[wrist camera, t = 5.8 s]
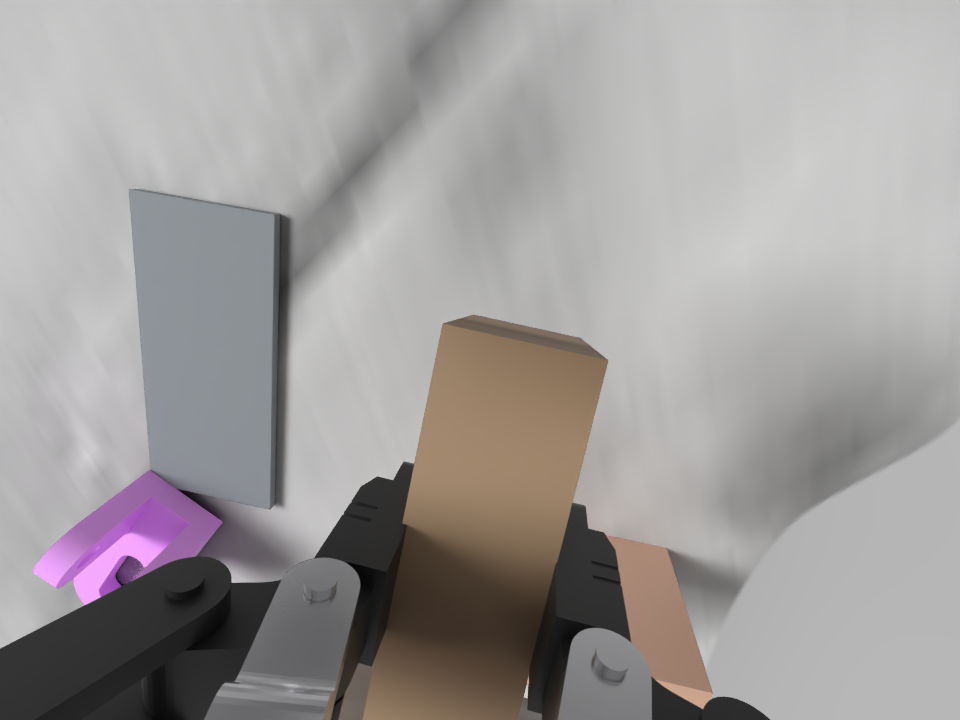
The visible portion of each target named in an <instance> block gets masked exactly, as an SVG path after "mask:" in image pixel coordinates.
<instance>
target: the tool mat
mask: <svg viewBox="0 0 960 720" xmlns="http://www.w3.org/2000/svg"><path fill="white" fill-rule="evenodd" d="M129 198H130V211H131V224H132V237H133V250H134V262H135V275H136V288H137V301H138V314H139V327H140V340H141V352H142V365H143V378H144V391H145V404H146V417H147V430H148V442H149V455H150V468H151V471H152V472H153V473H155V474H156V475H158V476H159V477H160V478H162V479H163V480H165V481H166V482H167V483H169V484H170V485H172V486H173V487H174V488H176V489H181V490H185V491H189V492H194V493H198V494H203V495H207V496H212V497H216V498H220V499H225V500H229V501H234V502H238V503H242V504H247V505H251V506H256V507H260V508H265V509H269V510H270V509H271V508H272V507H273V506H274V504H275V468H276V417H277V365H278V314H279V263H280V214H276V213H270V212H264V211H259V210H253V209H247V208H241V207H236V206H230V205H224V204H219V203H213V202H207V201H202V200H196V199H190V198H185V197H179V196H173V195H168V194H162V193H156V192H151V191H145V190H139V189H129Z"/></svg>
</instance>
